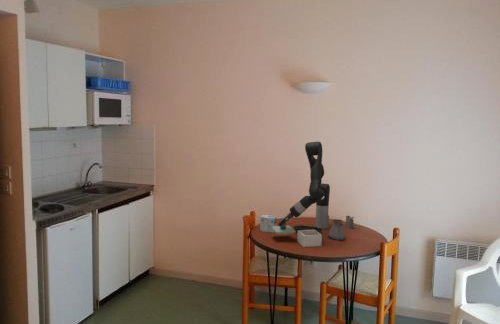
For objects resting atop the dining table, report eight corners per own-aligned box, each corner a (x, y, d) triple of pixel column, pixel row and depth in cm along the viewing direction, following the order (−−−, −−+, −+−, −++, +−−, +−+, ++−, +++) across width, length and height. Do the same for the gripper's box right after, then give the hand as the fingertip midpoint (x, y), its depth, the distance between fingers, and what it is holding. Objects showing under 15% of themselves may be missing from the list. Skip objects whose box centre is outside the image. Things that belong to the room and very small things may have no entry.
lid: (289, 228, 273) (289, 215, 272) (295, 234, 260) (295, 220, 259) (271, 229, 270) (271, 216, 269) (276, 235, 257) (276, 221, 256)
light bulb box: (276, 230, 287) (277, 216, 286) (274, 233, 281) (274, 218, 280) (262, 228, 291) (263, 214, 290) (259, 231, 285) (260, 216, 283)
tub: (314, 241, 264) (314, 229, 263) (321, 246, 253) (321, 234, 252) (297, 242, 262) (297, 230, 261) (303, 248, 250) (303, 235, 249)
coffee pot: (327, 236, 276) (327, 215, 274) (343, 236, 275) (344, 215, 274) (332, 246, 254) (333, 223, 253) (350, 246, 254) (351, 224, 252)
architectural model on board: (353, 229, 294) (354, 216, 293) (349, 229, 294) (350, 216, 293) (349, 225, 306) (350, 213, 304) (345, 225, 305) (346, 213, 304)
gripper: (297, 202, 266) (279, 218, 272) (291, 206, 253) (273, 223, 259) (305, 211, 265) (287, 226, 271) (299, 215, 252) (280, 231, 258)
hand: (280, 224), depth 265 cm, fingers closed on lid, 3 cm apart
